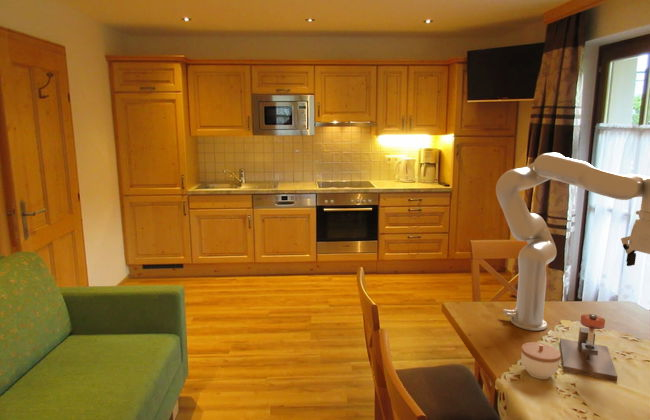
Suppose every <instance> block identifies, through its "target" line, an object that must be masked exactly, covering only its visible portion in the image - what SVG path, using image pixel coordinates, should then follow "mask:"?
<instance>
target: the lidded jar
mask: <svg viewBox="0 0 650 420" xmlns="http://www.w3.org/2000/svg"><path fill="white" fill-rule="evenodd" d="M520 354H521V363H522V366H523V368H524V369H525V370H526V371H527V374H528V375H529V376H531V377H532V378H535V379H538V380H547V379H550V378H551V377H552V376H554V374H556V373H557V371H558V369H559V366H560V361H561V359H562V355H561V351H560V350H559V349H557V348H556V347H554V346H553V345H550V344H547V343H543V342H539V341H538V342H536V341H531V342H525V343H523V344H522V345H521V353H520Z"/></svg>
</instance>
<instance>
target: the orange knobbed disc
mask: <svg viewBox="0 0 650 420" xmlns="http://www.w3.org/2000/svg"><path fill="white" fill-rule="evenodd" d="M579 321H580V324H581V325H582V327H585V328H589V332H588V341H587V348H589V349H592V347H593V339H594V332H595V330H602V329H604V328H605V325H606V320H605V318H604V317H602V316H599V315H597V314H594V313H590V314H589V313H585V314H581V315H580V320H579ZM591 356H592V355H591V354H586V359H587V360H591Z"/></svg>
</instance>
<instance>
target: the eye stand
mask: <svg viewBox="0 0 650 420" xmlns="http://www.w3.org/2000/svg"><path fill="white" fill-rule="evenodd" d="M578 332H579V333H578V339H577V340H578V341H576V340H572V339H571V340H569V339H566V338H559V344H560V345H559V347H560V353H561V362H562V369H563V371H564V372H569V373H573V374H579V375H583V376H588V377H589V376H590V377H594V378H599V379H604V380H611V381H614V382H617V381H618V377H619V376H618V374H617V371H616V370H617V369H616V368H615V365H614V362H613V359H612V357H611V353H610V351H609V348H608V346H607V345H600V344H595V340H596V339H595V337H596V333H595V331H594V339H593V347H592V349H589V348H587V341H588V332H589V328H588V327H584V326H582V327H581V326H579V331H578ZM586 354H591V355H592V356H591V360H587V359H586Z"/></svg>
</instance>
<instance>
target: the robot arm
mask: <svg viewBox="0 0 650 420" xmlns="http://www.w3.org/2000/svg"><path fill="white" fill-rule="evenodd" d="M550 180H553V181H557V182H561V183H564V184H567V185H572V186H575V187H578V188H580V189H583V190H586V191H588V192H591V193H594V194H597V195H600V196H604V197H608V198H610V199H615V200H619V201H620V200H621V201H628V200H632V199H634V198H641V204H640V209H639V210H636V211H635V215H638V218H636V219H635V220H634V223H633V226H632V229H631V233H630V235H629V236H624V237H621V238H620V240H621V243H622V247H623V249H624V251H625V253H626V260H625V261H626V266H627V267H632V266H635V265H636V259H637V253H636V252H639V253H644V254H647V255H650V176H646V175H642V174H638V173H637V174H636V173H627V174H624V175H623V174H618V173H614V172H610V171H605V170H602V169H600V168H596V167H594V166H593V165H592V164H590V163H589V162H587V161H584V160H579V159H575V158H570V157H565V155H563V154H561V153H560V152H546V153H545V152H544V153H541V154H540V155H538V156H537V157H536V158H535V159H534V162H532V163H530V164H527V165H526V166H524V167H518V168H517V167H516V168H511V169H509V170H507V171H505V172H504V173H502V174H501V176H500V177H499V178H498V181H497V182H496V185H495V196H496V197H497V201H498V203H499V206H500V208H501V209H502V213H503V214H504V218H505V220H506V223H507V225H508V227H509V231H510V232H511V235H512V237H513V238H514V239H515V240H517V241H519V242H527V244H526V245H524V246H523V247H522V248H521V249H520V250H519V253H518V255H517V256H518V257H517V265H518V266H517V267H518V281H517V292H516V293H517V294H516V305H515V306H516V307H515V309H507V308H503V310H502V313H503V315H505V316H506V317H508V318H509V317H510V322H511V324H513V325H514V326H515V327H518V328H519V329H523V330H527V331H537V332H538V331H543V330H546V329H547V327H548V323H547V321H546V320H545V319H544V314H545V313H544V311H545V301H546V289H547V265H548V264H551V262H553V261H554V260H555V259H556V257H557V255H558V254H557V247H556V243H555V241H554V239H553V237H552V234H551V232H550V229H549V227H548V224H547V222H546V221H545V220H544V218H543V217H542V216H541V215H539V214H537V213H535V212H530V211H529V209H528V204H527V203H526V201H525V199H524V198H523V197H522V195H521V192H522V191H525V190H530V189H532V188H534V187H536V186H539V185H540V184H543V183H545V182H547V181H550Z"/></svg>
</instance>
